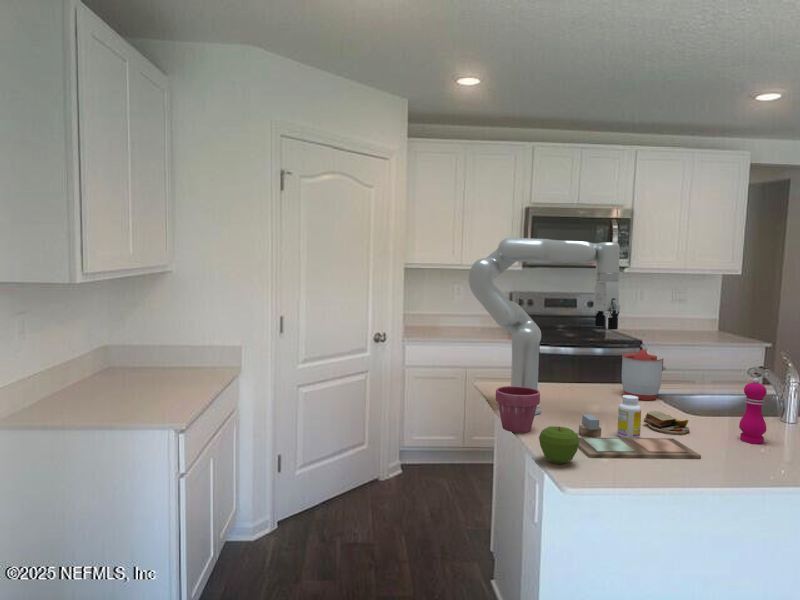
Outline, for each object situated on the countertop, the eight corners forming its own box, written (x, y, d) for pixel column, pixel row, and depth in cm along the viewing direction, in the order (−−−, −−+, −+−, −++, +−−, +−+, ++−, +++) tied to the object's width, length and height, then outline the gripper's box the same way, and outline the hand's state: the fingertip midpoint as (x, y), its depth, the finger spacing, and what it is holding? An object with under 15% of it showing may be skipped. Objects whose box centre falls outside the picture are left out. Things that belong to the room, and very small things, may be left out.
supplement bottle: (639, 435, 180) (641, 395, 179) (640, 441, 173) (642, 400, 173) (616, 432, 182) (618, 393, 181) (617, 438, 176) (619, 397, 175)
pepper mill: (756, 445, 171) (761, 381, 170) (733, 439, 178) (737, 376, 176) (770, 442, 175) (775, 379, 173) (747, 436, 181) (751, 374, 180)
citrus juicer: (672, 402, 223) (675, 352, 222) (628, 401, 223) (631, 351, 222) (655, 393, 239) (657, 346, 237) (614, 392, 239) (616, 345, 238)
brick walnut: (582, 437, 177) (582, 427, 176) (578, 434, 180) (579, 425, 179) (600, 437, 177) (601, 428, 177) (596, 434, 180) (597, 425, 180)
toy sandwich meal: (668, 437, 179) (669, 422, 179) (637, 425, 192) (637, 411, 191) (698, 433, 183) (699, 419, 183) (665, 422, 196) (666, 409, 196)
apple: (554, 471, 147) (556, 433, 146) (529, 458, 156) (531, 422, 155) (587, 466, 151) (588, 429, 150) (561, 453, 160) (562, 419, 160)
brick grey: (598, 429, 175) (599, 420, 175) (589, 429, 175) (590, 420, 175) (591, 423, 181) (591, 414, 181) (582, 423, 181) (582, 414, 181)
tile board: (589, 457, 157) (589, 453, 157) (570, 440, 172) (571, 436, 172) (700, 458, 159) (701, 454, 159) (673, 441, 174) (673, 437, 174)
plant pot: (501, 420, 193) (502, 383, 192) (542, 426, 187) (544, 388, 186) (489, 431, 180) (490, 391, 179) (533, 438, 174) (534, 397, 173)
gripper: (586, 277, 202) (585, 325, 203) (608, 279, 185) (607, 330, 186) (606, 277, 203) (605, 325, 204) (630, 278, 185) (628, 330, 186)
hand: (606, 327), depth 195 cm, fingers open, 9 cm apart
